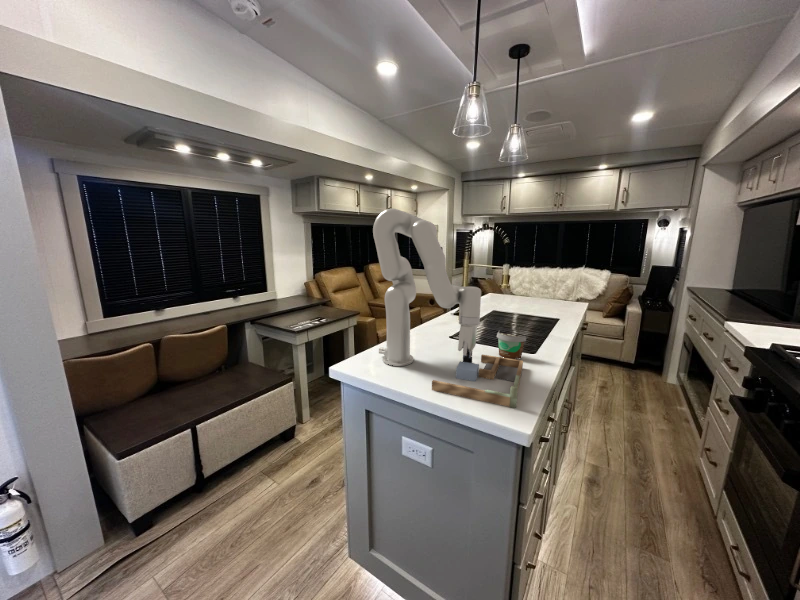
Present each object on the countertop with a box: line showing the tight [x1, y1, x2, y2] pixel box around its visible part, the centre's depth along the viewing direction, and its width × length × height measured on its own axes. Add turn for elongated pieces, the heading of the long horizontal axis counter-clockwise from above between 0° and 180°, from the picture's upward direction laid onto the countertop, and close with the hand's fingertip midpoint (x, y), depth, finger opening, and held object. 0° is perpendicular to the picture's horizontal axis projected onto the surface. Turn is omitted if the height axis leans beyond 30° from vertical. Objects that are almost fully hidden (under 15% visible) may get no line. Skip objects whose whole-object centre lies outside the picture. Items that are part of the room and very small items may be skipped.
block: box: [455, 361, 480, 382], centre depth 111 cm, size 7×7×4 cm
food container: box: [496, 330, 527, 360], centre depth 129 cm, size 12×6×10 cm, turn 47°
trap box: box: [431, 354, 524, 409], centre depth 109 cm, size 26×33×6 cm
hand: (467, 366), depth 117 cm, fingers closed
